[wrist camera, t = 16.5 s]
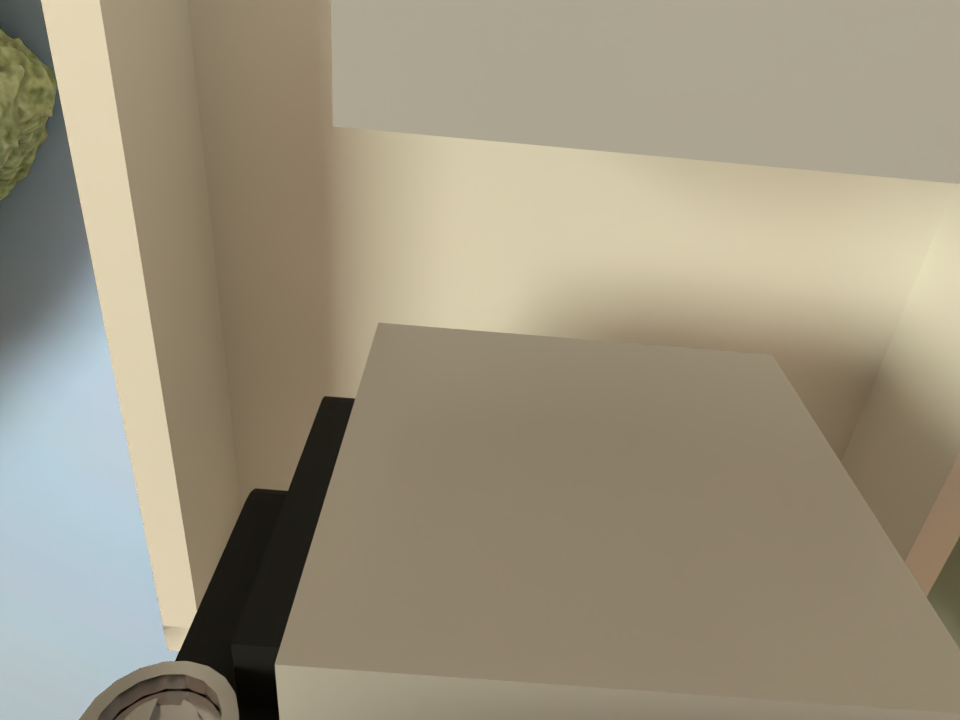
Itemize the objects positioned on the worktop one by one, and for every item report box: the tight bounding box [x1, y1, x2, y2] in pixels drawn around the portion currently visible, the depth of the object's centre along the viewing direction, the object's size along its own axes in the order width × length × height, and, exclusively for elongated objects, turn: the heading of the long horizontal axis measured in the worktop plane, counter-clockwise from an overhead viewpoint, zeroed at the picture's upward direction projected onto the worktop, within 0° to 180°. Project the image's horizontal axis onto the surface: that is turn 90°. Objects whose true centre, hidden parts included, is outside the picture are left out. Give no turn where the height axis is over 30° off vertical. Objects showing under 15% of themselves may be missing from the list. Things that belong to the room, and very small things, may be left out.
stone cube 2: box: [275, 323, 960, 720], centre depth 8 cm, size 5×5×5 cm
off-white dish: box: [41, 0, 960, 651], centre depth 10 cm, size 16×12×3 cm
